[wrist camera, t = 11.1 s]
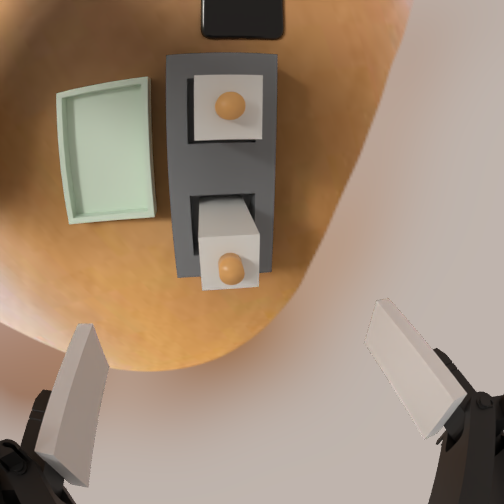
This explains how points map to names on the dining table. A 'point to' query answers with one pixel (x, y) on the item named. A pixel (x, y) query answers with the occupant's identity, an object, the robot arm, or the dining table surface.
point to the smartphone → (242, 19)
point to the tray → (107, 151)
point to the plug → (227, 244)
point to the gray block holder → (220, 143)
